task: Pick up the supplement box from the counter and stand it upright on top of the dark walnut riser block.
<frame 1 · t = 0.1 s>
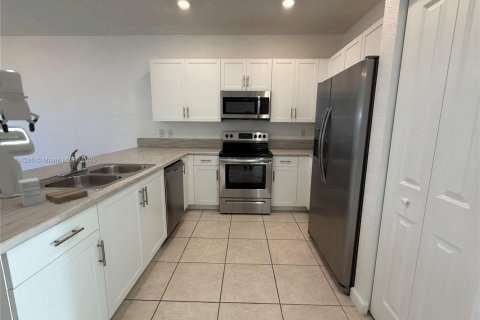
hand: (19, 132, 110), 37 cm above the countertop, tool pointing down, fingers open, 9 cm apart
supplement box: (32, 203, 114), on the countertop
walnut riser: (67, 197, 122), on the countertop
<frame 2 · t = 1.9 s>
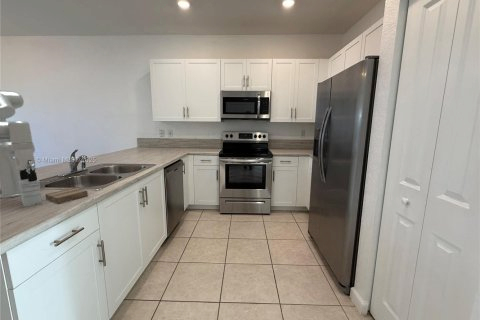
hand: (29, 180, 111), 13 cm above the countertop, tool pointing down, fingers open, 9 cm apart
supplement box: (32, 204, 114), on the countertop, touching gripper
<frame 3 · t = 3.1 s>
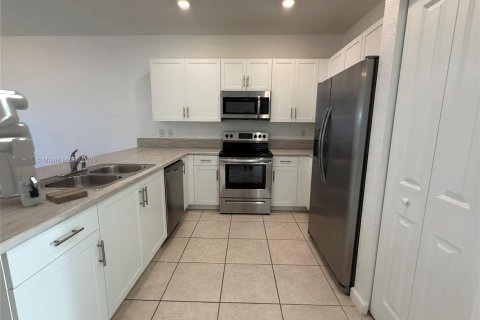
hand: (31, 195, 113), 4 cm above the countertop, tool pointing down, fingers closed on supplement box, 8 cm apart
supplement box: (32, 203, 114), on the countertop, touching gripper
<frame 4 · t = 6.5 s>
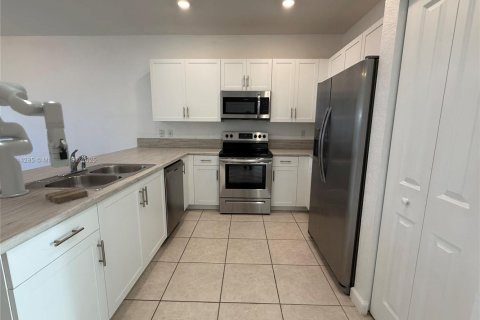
hand: (60, 158, 118), 22 cm above the countertop, tool pointing down, fingers closed on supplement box, 8 cm apart
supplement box: (61, 166, 119), point 18 cm above the countertop, touching gripper
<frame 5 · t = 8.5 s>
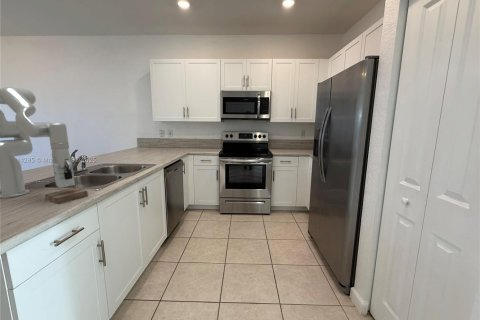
hand: (64, 178, 120), 11 cm above the countertop, tool pointing down, fingers closed on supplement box, 8 cm apart
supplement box: (65, 185, 121), point 7 cm above the countertop, touching gripper
when the fingers open (8 cm above the countertop, at t = 9.8 s): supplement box drops 1 cm, resting on walnut riser.
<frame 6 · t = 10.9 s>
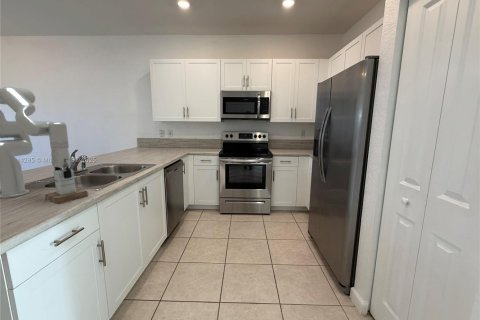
hand: (63, 176, 120), 12 cm above the countertop, tool pointing down, fingers open, 9 cm apart
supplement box: (66, 192, 121), point 3 cm above the countertop, touching gripper, walnut riser
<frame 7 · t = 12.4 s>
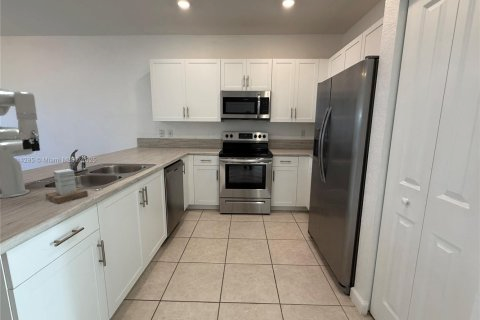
hand: (31, 150, 115), 27 cm above the countertop, tool pointing down, fingers open, 9 cm apart
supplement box: (66, 193, 121), point 3 cm above the countertop, touching walnut riser
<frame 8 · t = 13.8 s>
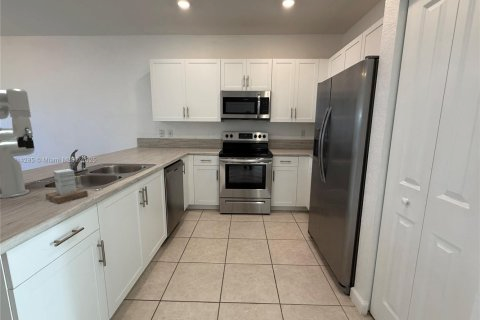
hand: (26, 147, 114), 28 cm above the countertop, tool pointing down, fingers open, 9 cm apart
nothing on the countertop moved.
at the end: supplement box inside the target area on the walnut riser (0.3 cm from its centre), point 2.8 cm above the walnut riser's base; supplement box tilted 0°; the gripper is holding nothing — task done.
